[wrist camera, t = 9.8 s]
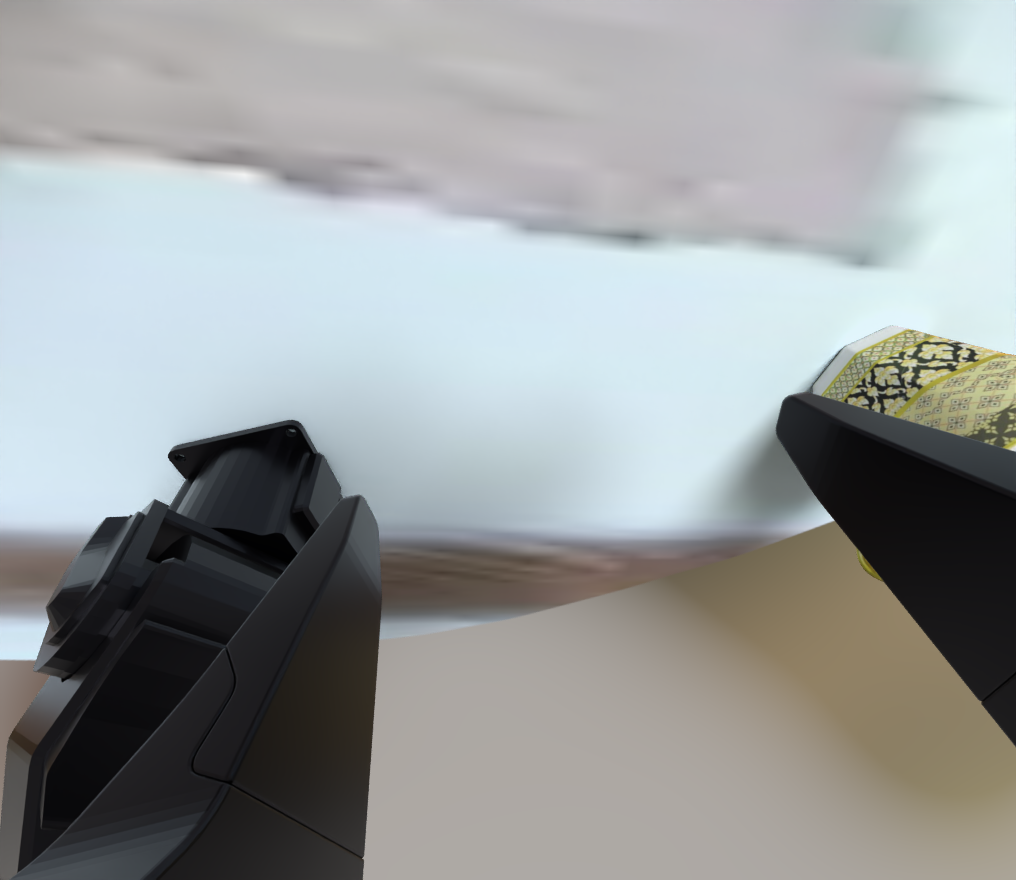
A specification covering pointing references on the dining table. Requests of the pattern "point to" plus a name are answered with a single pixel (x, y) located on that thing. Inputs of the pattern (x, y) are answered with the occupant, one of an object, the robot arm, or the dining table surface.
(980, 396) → the ceramic cup
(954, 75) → the dining table surface
